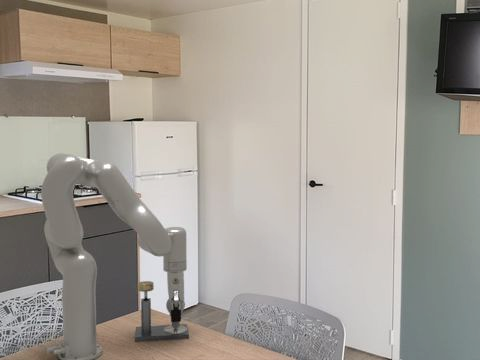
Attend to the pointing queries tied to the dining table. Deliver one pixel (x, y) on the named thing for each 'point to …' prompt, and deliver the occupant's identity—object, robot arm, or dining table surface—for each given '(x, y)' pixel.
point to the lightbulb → (169, 307)
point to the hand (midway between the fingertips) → (175, 316)
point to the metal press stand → (157, 327)
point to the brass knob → (145, 287)
